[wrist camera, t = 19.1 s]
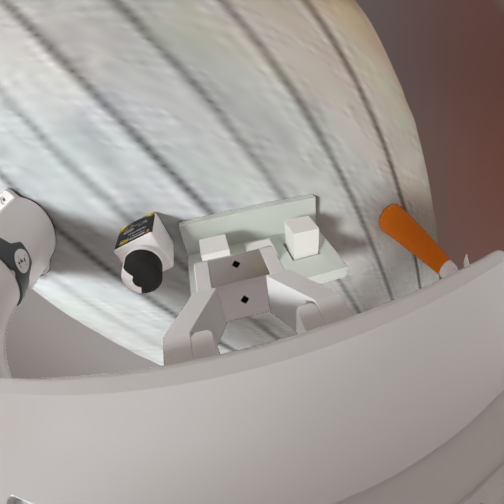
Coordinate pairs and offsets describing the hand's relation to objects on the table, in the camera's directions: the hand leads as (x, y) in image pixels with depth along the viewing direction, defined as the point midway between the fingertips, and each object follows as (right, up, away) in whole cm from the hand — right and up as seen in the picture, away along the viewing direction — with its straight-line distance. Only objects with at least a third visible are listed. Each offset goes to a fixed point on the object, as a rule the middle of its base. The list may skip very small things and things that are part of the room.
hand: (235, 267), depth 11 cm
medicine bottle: (-17, +4, +34) cm, 39 cm away
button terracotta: (+8, +3, +36) cm, 37 cm away
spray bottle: (+34, +9, +45) cm, 57 cm away
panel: (0, +5, +38) cm, 39 cm away
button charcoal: (-5, 0, +35) cm, 35 cm away
